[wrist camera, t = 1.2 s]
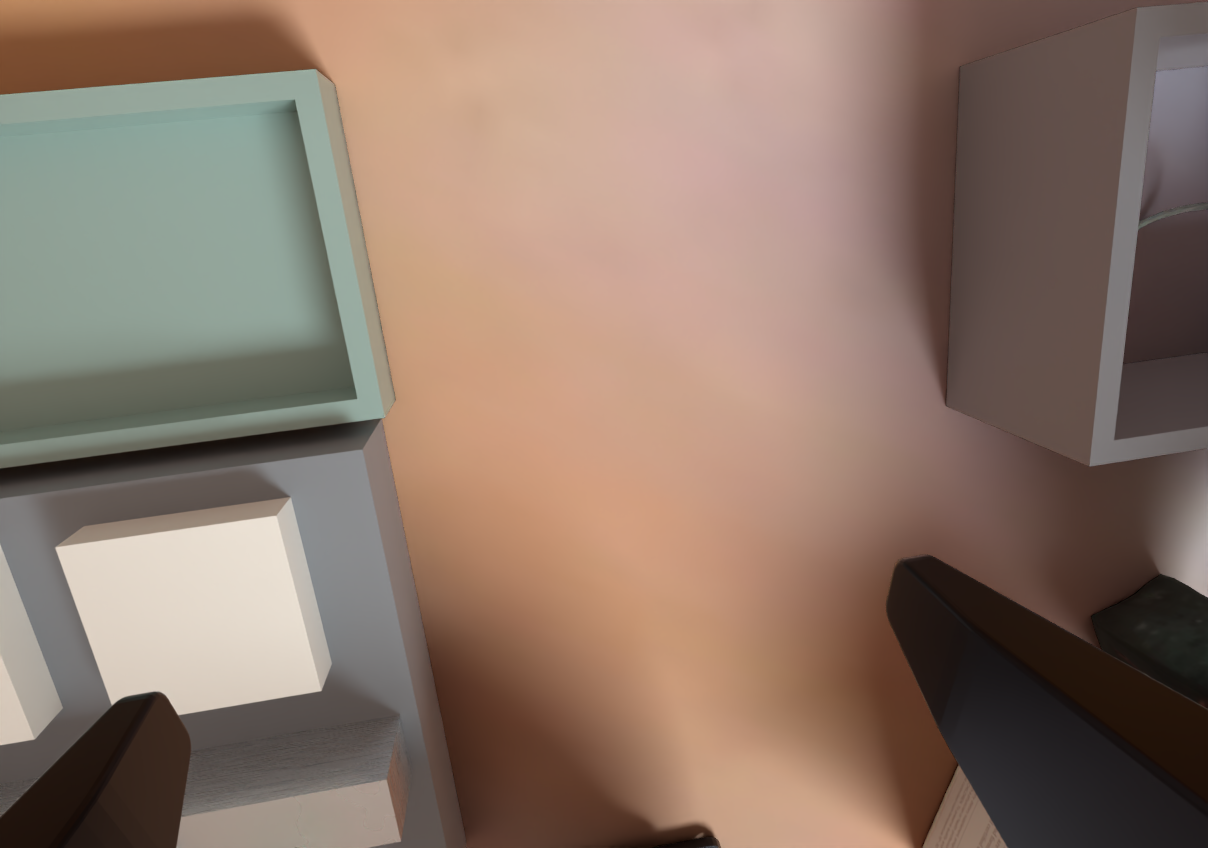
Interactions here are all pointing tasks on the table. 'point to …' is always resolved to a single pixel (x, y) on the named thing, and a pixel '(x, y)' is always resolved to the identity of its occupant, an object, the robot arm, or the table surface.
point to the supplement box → (962, 820)
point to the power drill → (1161, 635)
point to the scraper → (293, 789)
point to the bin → (181, 267)
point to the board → (337, 569)
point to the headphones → (1173, 213)
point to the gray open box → (1066, 242)
